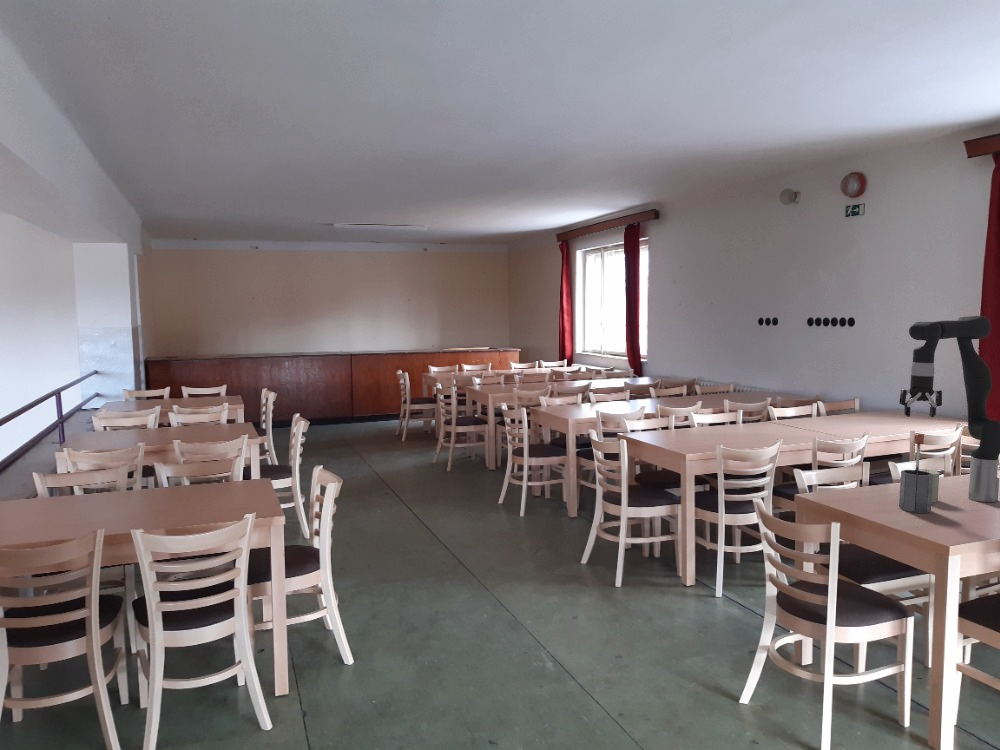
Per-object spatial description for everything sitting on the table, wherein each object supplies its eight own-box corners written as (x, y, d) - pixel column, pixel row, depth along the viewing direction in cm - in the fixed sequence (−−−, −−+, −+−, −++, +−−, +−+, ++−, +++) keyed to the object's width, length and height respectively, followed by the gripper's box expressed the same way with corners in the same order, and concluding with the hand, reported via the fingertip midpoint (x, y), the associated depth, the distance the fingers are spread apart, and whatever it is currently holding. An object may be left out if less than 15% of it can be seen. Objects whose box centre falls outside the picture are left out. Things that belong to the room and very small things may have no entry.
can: (936, 498, 296) (938, 469, 295) (939, 503, 287) (941, 473, 286) (910, 495, 300) (912, 467, 299) (913, 500, 291) (914, 471, 290)
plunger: (922, 482, 280) (925, 432, 278) (930, 487, 273) (933, 436, 271) (902, 481, 281) (905, 432, 279) (910, 486, 274) (913, 435, 272)
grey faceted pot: (920, 505, 285) (922, 469, 283) (934, 513, 273) (937, 476, 271) (893, 504, 286) (895, 468, 285) (906, 512, 274) (908, 475, 272)
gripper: (937, 374, 276) (935, 415, 278) (898, 373, 278) (895, 414, 280) (947, 375, 269) (944, 418, 270) (906, 374, 271) (903, 417, 272)
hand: (919, 416), depth 275 cm, fingers open, 8 cm apart
